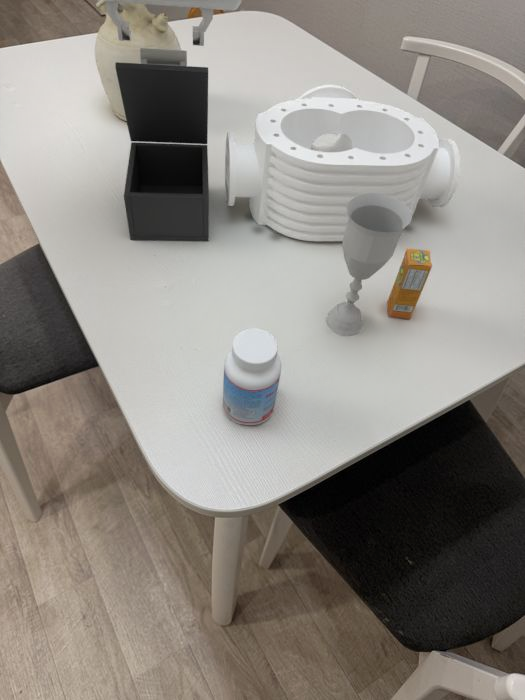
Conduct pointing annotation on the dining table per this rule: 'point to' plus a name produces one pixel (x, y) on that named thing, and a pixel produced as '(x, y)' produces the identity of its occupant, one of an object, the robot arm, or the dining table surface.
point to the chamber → (167, 192)
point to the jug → (129, 45)
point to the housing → (336, 162)
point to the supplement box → (409, 283)
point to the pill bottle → (251, 377)
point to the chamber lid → (164, 98)
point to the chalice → (367, 250)
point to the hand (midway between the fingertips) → (162, 41)
